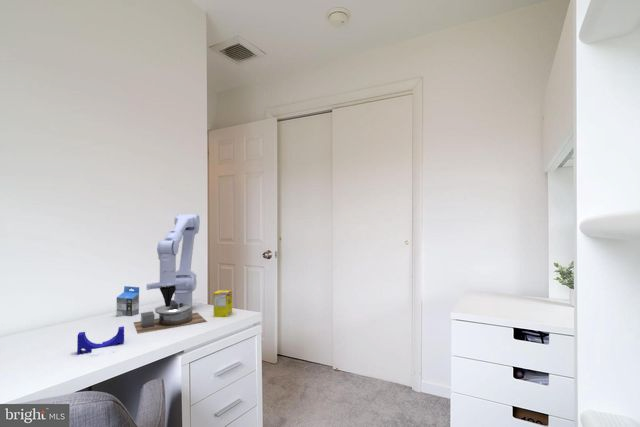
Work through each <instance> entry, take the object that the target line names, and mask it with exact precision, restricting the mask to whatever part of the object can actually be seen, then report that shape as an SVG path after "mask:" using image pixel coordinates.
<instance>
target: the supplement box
mask: <svg viewBox="0 0 640 427" xmlns="http://www.w3.org/2000/svg"><path fill="white" fill-rule="evenodd" d="M232 314H233V290H232V289H219V290H217V291H215V292H213V317H214V318H228V317H229V316H231V315H232Z"/></svg>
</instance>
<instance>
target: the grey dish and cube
mask: <svg viewBox="0 0 640 427" xmlns="http://www.w3.org/2000/svg"><path fill="white" fill-rule="evenodd" d="M192 313H193V306H192V307H190V309H189V310H187V311H184V312H180V313H174V314H158V315H159V316H158V319H159V324H160V325H163V326H176V325H182V324H186V323H189V322H191V321H192ZM154 319H155V313H154V311H152V310H151V311H146V312H145V311H144V312H140V321H141V327H142V328H148V327H154Z"/></svg>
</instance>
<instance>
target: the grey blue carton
mask: <svg viewBox="0 0 640 427" xmlns="http://www.w3.org/2000/svg"><path fill="white" fill-rule="evenodd" d="M123 288H124V290H123V292H122V293H121V294H119V295H118V296H116V317H118V318H120V317H133V316H137V315H139V314H140V312H139V311H140V309H139V308H140V287H138V286H126V285H124V287H123Z"/></svg>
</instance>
